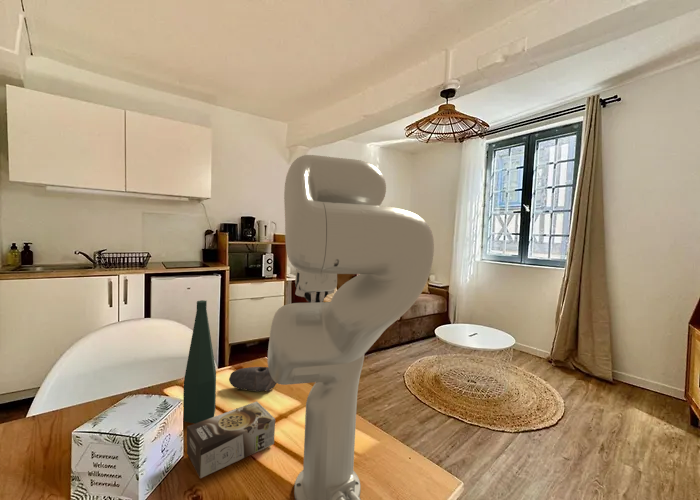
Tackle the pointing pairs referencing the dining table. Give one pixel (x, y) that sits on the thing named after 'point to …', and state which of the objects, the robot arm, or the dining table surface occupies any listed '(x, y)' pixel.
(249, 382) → the perforated stone tool
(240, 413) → the coffee box
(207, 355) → the bottle
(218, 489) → the dining table surface
